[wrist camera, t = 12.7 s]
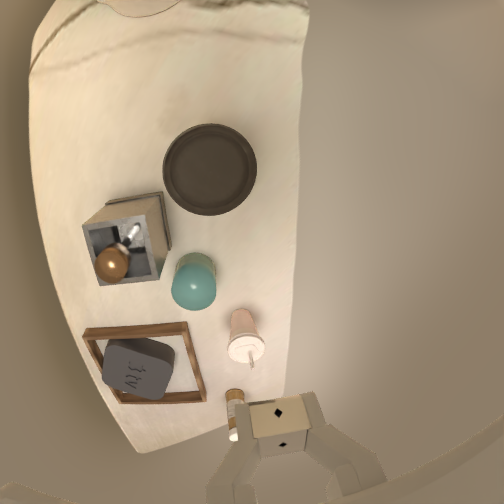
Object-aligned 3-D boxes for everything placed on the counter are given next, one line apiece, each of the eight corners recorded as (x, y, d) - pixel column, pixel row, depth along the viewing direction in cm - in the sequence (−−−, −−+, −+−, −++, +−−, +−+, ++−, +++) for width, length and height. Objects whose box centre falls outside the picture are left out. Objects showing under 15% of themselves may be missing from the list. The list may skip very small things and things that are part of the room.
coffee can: (253, 137, 42) (270, 141, 30) (231, 198, 46) (238, 227, 33) (189, 117, 40) (178, 112, 27) (169, 179, 44) (151, 201, 31)
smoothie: (252, 331, 58) (262, 383, 45) (221, 326, 56) (225, 379, 43) (261, 305, 55) (275, 356, 43) (228, 300, 54) (234, 352, 41)
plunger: (115, 211, 42) (80, 247, 29) (152, 205, 43) (126, 240, 30) (124, 247, 45) (95, 293, 32) (159, 242, 45) (139, 289, 32)
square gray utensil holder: (109, 200, 43) (80, 224, 32) (162, 191, 44) (146, 213, 33) (121, 252, 47) (98, 287, 36) (171, 245, 48) (160, 281, 37)
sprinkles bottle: (242, 399, 67) (248, 442, 54) (224, 398, 66) (228, 443, 54) (244, 388, 65) (251, 433, 53) (226, 387, 64) (230, 433, 52)
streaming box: (112, 325, 54) (106, 341, 49) (177, 346, 57) (176, 363, 53) (105, 368, 58) (100, 383, 54) (163, 385, 62) (161, 402, 58)
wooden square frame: (86, 328, 53) (82, 337, 50) (186, 321, 55) (185, 331, 52) (121, 395, 62) (119, 403, 60) (206, 392, 64) (206, 401, 61)
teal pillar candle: (172, 255, 49) (167, 274, 42) (212, 250, 49) (212, 269, 43) (180, 290, 52) (176, 312, 45) (217, 285, 52) (218, 308, 46)
